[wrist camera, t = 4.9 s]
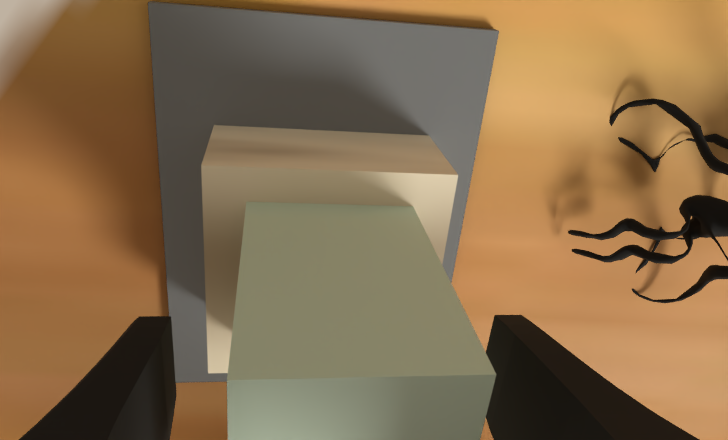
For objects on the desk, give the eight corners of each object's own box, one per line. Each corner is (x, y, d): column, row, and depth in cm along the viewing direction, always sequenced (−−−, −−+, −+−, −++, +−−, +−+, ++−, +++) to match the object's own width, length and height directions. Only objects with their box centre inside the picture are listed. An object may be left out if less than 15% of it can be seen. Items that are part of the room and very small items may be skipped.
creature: (575, 299, 22) (808, 253, 20) (617, 411, 17) (924, 364, 16) (538, 112, 18) (819, 34, 16) (579, 192, 14) (976, 96, 12)
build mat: (431, 371, 21) (433, 377, 21) (175, 376, 19) (173, 382, 19) (495, 29, 16) (499, 31, 15) (150, 1, 14) (147, 2, 14)
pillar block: (394, 337, 16) (453, 544, 10) (245, 339, 15) (229, 560, 10) (413, 206, 14) (496, 374, 9) (246, 201, 13) (226, 379, 8)
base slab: (403, 308, 19) (423, 369, 16) (217, 308, 18) (208, 373, 15) (429, 135, 16) (458, 174, 14) (214, 125, 15) (201, 165, 13)
